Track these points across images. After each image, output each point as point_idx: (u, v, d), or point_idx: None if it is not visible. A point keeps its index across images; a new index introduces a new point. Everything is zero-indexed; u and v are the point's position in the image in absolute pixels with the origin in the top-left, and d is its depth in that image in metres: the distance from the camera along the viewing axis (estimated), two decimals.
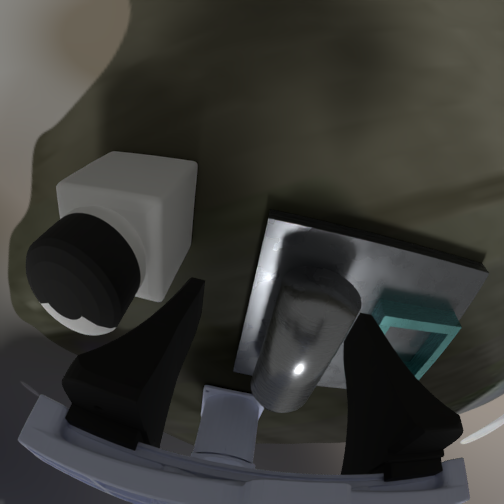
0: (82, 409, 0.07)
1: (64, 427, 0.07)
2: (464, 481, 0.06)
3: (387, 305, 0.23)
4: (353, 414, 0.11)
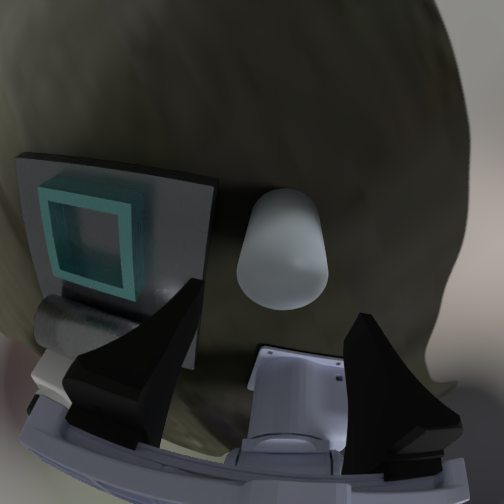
0: (82, 409, 0.07)
1: (64, 427, 0.07)
2: (464, 481, 0.06)
3: None
4: (353, 414, 0.11)
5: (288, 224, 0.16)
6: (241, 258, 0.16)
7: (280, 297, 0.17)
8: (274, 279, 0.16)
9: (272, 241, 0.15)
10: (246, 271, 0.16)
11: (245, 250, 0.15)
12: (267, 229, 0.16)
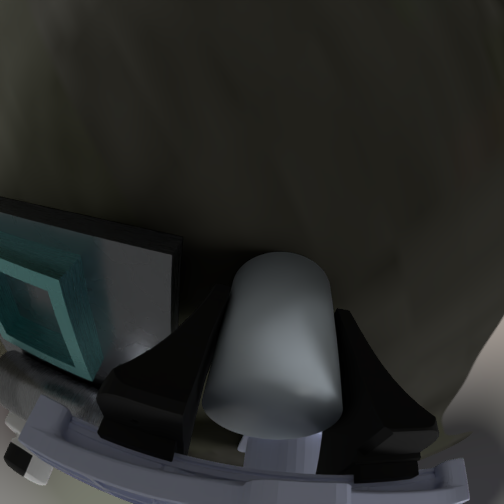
0: (115, 422, 0.07)
1: (64, 427, 0.07)
2: (464, 481, 0.06)
3: None
4: None
5: (283, 345, 0.09)
6: (207, 394, 0.09)
7: (269, 430, 0.10)
8: (259, 416, 0.10)
9: (255, 381, 0.08)
10: (216, 406, 0.09)
11: (212, 386, 0.09)
12: (247, 354, 0.09)
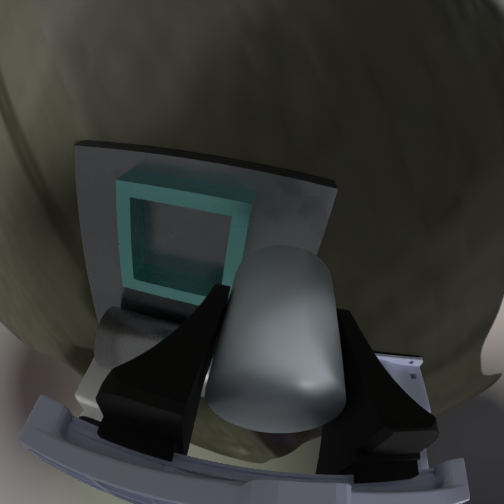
0: (115, 422, 0.07)
1: (64, 427, 0.07)
2: (464, 481, 0.06)
3: None
4: None
5: (290, 335, 0.09)
6: (210, 383, 0.09)
7: (270, 423, 0.10)
8: (262, 408, 0.10)
9: (261, 370, 0.08)
10: (219, 397, 0.09)
11: (216, 375, 0.09)
12: (254, 343, 0.09)
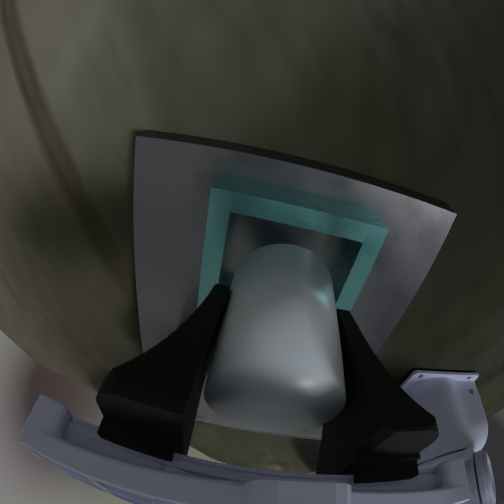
0: (115, 422, 0.07)
1: (64, 427, 0.07)
2: (464, 481, 0.06)
3: None
4: None
5: (291, 334, 0.09)
6: (210, 382, 0.09)
7: (269, 422, 0.10)
8: (261, 406, 0.10)
9: (262, 368, 0.08)
10: (218, 395, 0.09)
11: (216, 373, 0.09)
12: (255, 341, 0.09)
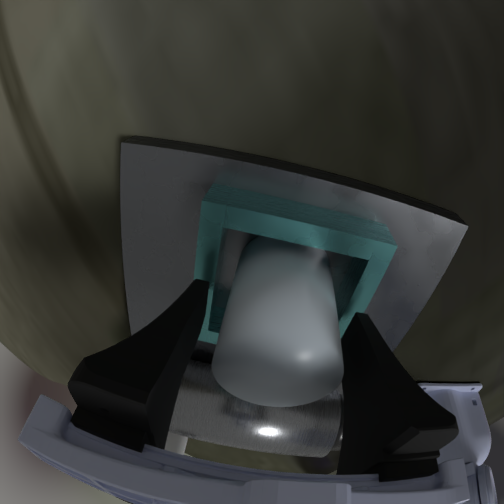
0: (88, 411, 0.07)
1: (64, 427, 0.07)
2: (464, 481, 0.06)
3: None
4: (349, 414, 0.11)
5: (292, 307, 0.10)
6: (218, 352, 0.10)
7: (272, 395, 0.11)
8: (265, 378, 0.11)
9: (266, 337, 0.09)
10: (225, 366, 0.10)
11: (224, 344, 0.10)
12: (259, 313, 0.10)
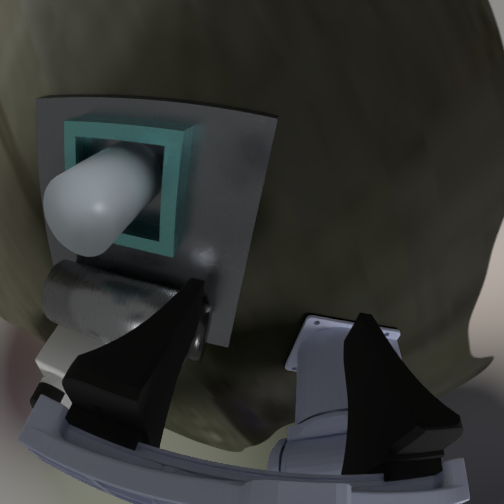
0: (82, 409, 0.07)
1: (64, 427, 0.07)
2: (464, 481, 0.06)
3: None
4: (353, 414, 0.11)
5: (83, 165, 0.13)
6: (44, 199, 0.13)
7: (81, 241, 0.15)
8: (71, 220, 0.14)
9: (60, 179, 0.13)
10: (50, 212, 0.14)
11: (45, 190, 0.13)
12: None
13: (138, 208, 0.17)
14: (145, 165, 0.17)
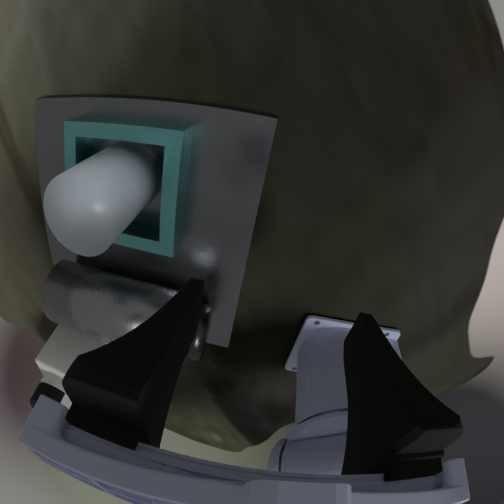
0: (82, 409, 0.07)
1: (64, 427, 0.07)
2: (464, 481, 0.06)
3: None
4: (353, 414, 0.11)
5: (83, 165, 0.13)
6: (44, 199, 0.13)
7: (81, 241, 0.15)
8: (71, 220, 0.14)
9: (60, 179, 0.13)
10: (50, 212, 0.14)
11: (45, 190, 0.13)
12: None
13: (138, 208, 0.17)
14: (145, 165, 0.17)
